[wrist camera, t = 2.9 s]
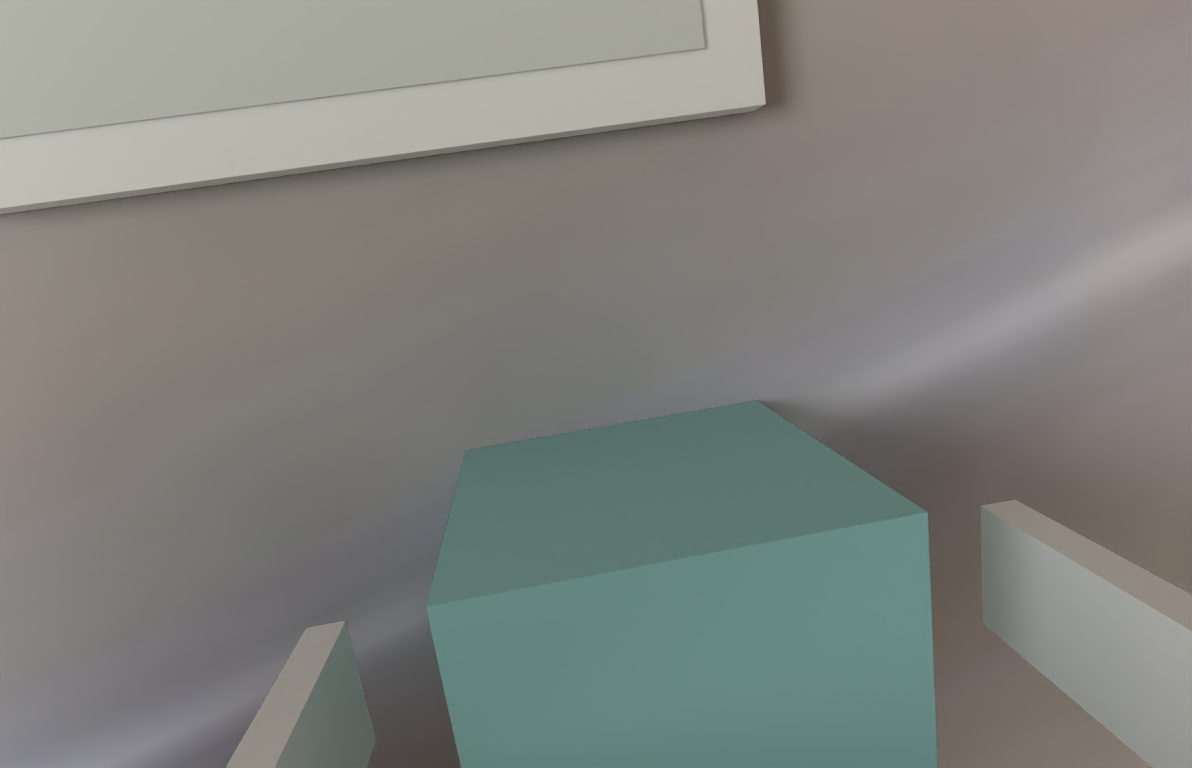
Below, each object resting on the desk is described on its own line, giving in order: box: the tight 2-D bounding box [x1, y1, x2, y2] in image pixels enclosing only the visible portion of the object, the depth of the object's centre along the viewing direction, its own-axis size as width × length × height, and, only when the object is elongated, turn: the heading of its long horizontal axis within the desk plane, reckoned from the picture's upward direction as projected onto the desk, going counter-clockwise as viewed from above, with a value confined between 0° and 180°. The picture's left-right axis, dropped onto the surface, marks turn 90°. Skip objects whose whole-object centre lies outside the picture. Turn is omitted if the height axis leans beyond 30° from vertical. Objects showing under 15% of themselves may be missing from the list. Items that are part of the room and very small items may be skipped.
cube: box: [426, 401, 938, 768], centre depth 13 cm, size 7×7×7 cm
